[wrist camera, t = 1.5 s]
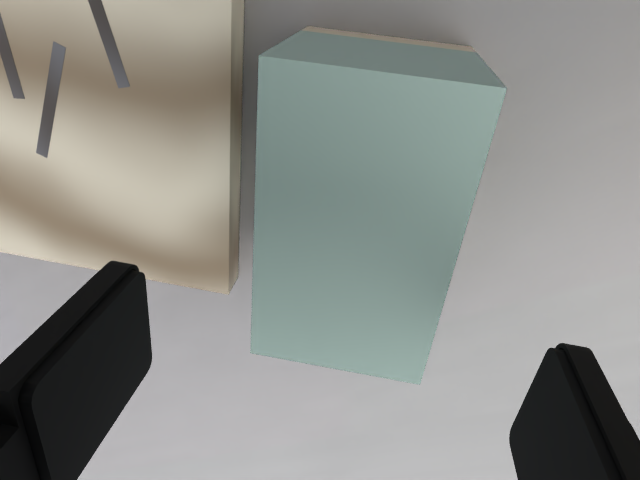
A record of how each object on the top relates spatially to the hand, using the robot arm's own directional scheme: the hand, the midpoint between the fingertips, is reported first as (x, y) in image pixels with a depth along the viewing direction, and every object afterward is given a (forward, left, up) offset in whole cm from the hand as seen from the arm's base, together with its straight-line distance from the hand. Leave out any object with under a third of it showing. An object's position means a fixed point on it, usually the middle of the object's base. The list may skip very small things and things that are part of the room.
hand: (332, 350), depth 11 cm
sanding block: (-1, 0, -11) cm, 11 cm away
